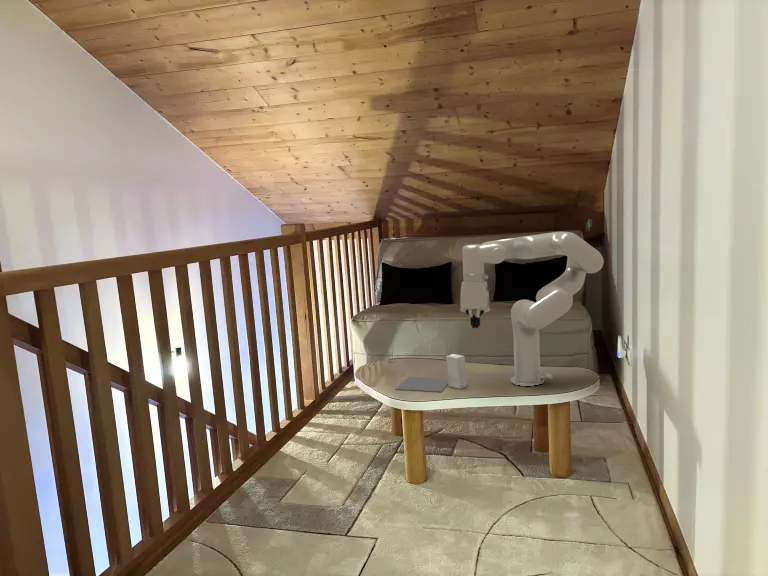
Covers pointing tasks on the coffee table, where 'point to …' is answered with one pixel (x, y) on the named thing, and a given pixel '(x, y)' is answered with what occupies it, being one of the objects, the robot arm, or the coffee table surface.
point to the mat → (423, 384)
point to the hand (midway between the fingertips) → (475, 327)
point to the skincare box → (456, 371)
